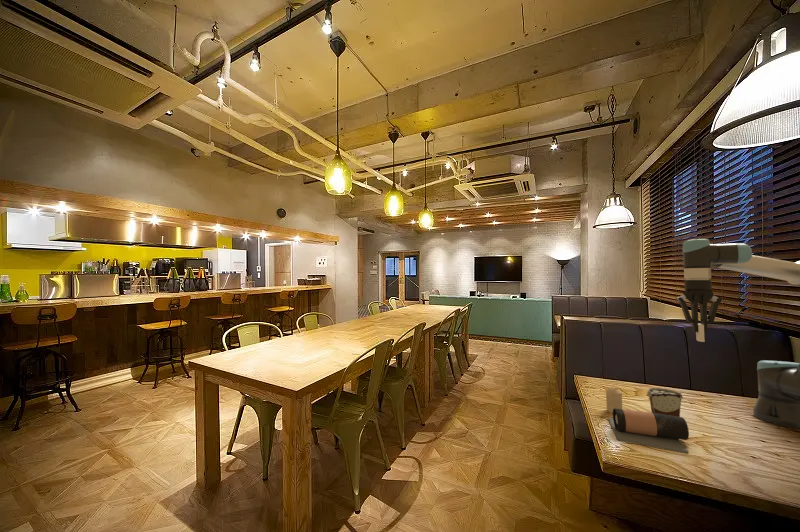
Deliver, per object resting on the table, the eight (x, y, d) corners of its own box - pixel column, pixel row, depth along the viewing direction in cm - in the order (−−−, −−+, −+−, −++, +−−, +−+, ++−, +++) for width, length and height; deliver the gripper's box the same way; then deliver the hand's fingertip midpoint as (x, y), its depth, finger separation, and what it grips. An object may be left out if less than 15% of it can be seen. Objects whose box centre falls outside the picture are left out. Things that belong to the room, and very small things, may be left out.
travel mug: (678, 412, 110) (612, 404, 118) (688, 421, 103) (617, 412, 111) (679, 434, 110) (613, 425, 118) (690, 445, 103) (618, 434, 111)
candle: (620, 410, 132) (620, 386, 132) (624, 415, 127) (623, 391, 127) (605, 408, 134) (604, 385, 134) (608, 413, 129) (607, 389, 129)
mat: (668, 428, 116) (668, 427, 116) (688, 453, 99) (688, 451, 99) (608, 419, 124) (608, 417, 124) (617, 440, 108) (617, 438, 108)
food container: (671, 411, 130) (670, 387, 130) (683, 418, 124) (682, 393, 124) (640, 410, 131) (639, 387, 132) (650, 417, 125) (649, 392, 125)
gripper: (715, 279, 119) (718, 340, 118) (672, 279, 125) (674, 338, 124) (725, 279, 112) (728, 344, 112) (679, 279, 118) (682, 341, 117)
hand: (700, 341), depth 118 cm, fingers closed
